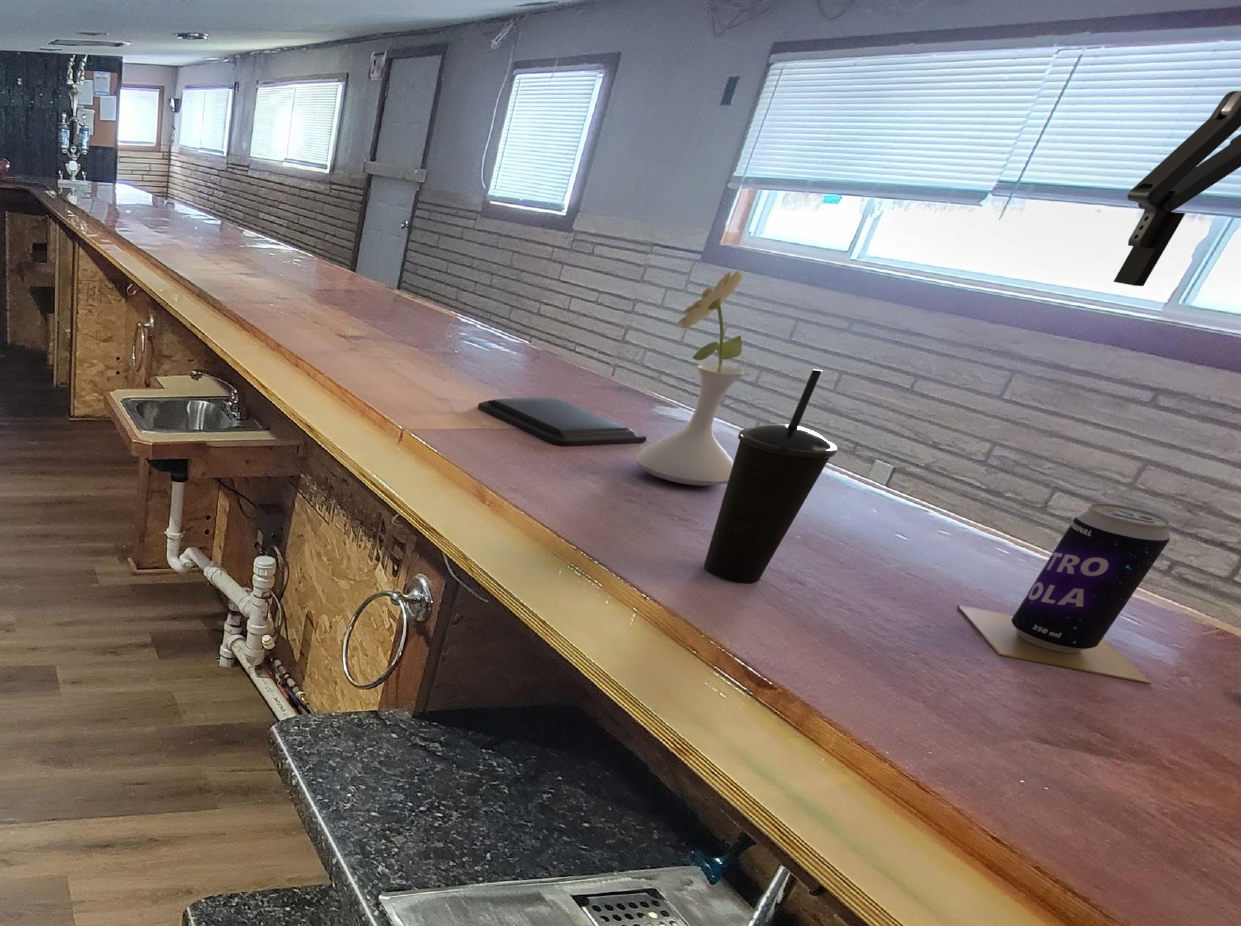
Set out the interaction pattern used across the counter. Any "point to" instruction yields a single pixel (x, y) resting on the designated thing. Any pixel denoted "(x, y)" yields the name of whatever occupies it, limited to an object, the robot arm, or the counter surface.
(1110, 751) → the counter surface
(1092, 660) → the cork pad
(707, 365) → the flower in vase
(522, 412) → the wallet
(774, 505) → the drinking cup
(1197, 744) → the counter surface
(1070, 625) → the beverage can
